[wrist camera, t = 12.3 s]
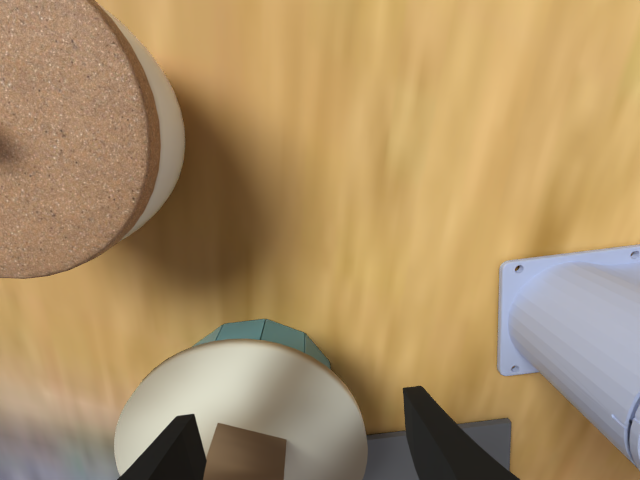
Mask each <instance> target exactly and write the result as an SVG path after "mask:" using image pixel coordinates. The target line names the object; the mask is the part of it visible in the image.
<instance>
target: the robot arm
mask: <svg viewBox="0 0 640 480" xmlns="http://www.w3.org/2000/svg"><path fill="white" fill-rule="evenodd" d="M632 252H633V255H632V256H631V253H632ZM518 265H519V266H520V267H519V269H518V270H517V271H515V268H516V267H517V266H518ZM513 366H515V367H514V368H512V367H513ZM511 368H512V369H511ZM497 369H498V371H499V372H500V373H501V375H503V376H511V375H519V374H527V373H535V372H540V373H541V374H542V375H543V376H544V377H545V378H546V379H547V380H548V381H549V382H550V383H551V384H552V385H553V386H554V387H555V388H556V389H557V390H558V391H559V392H560V393H561V394H562V395H563V396H564V397H565V398H566V399H567V400H568V401H569V402H570V403H571V404H573V405H574V406H575V407H576V408H577V409H578V410H579V411H580V412H581V413H582V414H583V415H584V416H585V417H586V418H587V419H588V420H589V421H590V422H591V423H592V424H593V425H594V426H595V427H596V428H597V429H598V430H599V431H600V432H601V433H602V434H603V435H604V436H605V437H606V438H607V439H608V440H609V441H610V442H611V443H612V444H613V445H614V446H615V447H616V448H617V449H618V450H619V451H621V452H622V453H623V454H624V455H625V456H626V457H627V458H628V459H629V460H630V461H631V462H632V463H633V464H634V465H635V466H636V467H637V468H638V469H639V471H640V244H639V245H631V246H622V247H614V248H606V249H598V250H590V251H582V252H574V253H566V254H558V255H550V256H541V257H533V258H525V259H517V260H509V261H505V262H504V263H502V264H501V266H500V269H499V311H498V353H497ZM403 396H404V412H405V427H406V438H407V441H408V445H409V449H410V453H411V456H412V460H413V463H414V467H415V470H416V472H417V475H418V478H419V480H520V479H519V478H517V477H516V476H515V475H513V474H512V473H511V472H510V471H508V470H507V469H506V468H505V467H503V466H502V465H501V464H500V463H499V462H497V461H496V460H495V459H494V458H493V457H492V456H490V455H489V454H488V453H487V452H486V451H485V450H484V449H483V448H482V447H480V446H479V445H478V444H477V443H476V442H475V441H474V440H473V439H472V438H471V437H470V436H469V435H468V434H466V433H465V432H464V431H463V430H462V429H461V428H460V427H459V426H458V425H457V424H456V423H455V422H454V421H453V420H452V419H451V418H450V417H449V416H448V415H447V413H446V412H445V411H444V410H443V409H442V408H441V407H440V406H439V405H438V404H437V403H436V402H435V400H434V399H433V398H432V397H431V396H430V395H429V394H428V393H427V391H426V390H425V389H424V388H423V387H422V386H416V387H407V388H403ZM206 462H207V460H206V456H205V452H204V448H203V445H202V441H201V437H200V433H199V429H198V426H197V422H196V418H195V414H188V415H180V416H176V417H175V418H174V419H173V420H172V421H171V422H170V424H169V425H168V426H167V427H166V428H165V429H164V430H163V431H162V432H161V433H160V434H159V436H158V437H157V438H156V439H155V440H154V441H153V442H152V443H151V444H150V446H149V447H148V448H147V449H146V450H145V451H144V452H143V453H142V454H141V455H140V456H139V457H138V459H137V460H136V461H135V462H134V463H133V464H132V465H131V466H130V467H129V468H128V469H127V470H126V471H125V472H124V473H123V474H122V475H121V476H120V477H119V478H118V479H117V480H203V477H204V472H205V467H206Z"/></svg>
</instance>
